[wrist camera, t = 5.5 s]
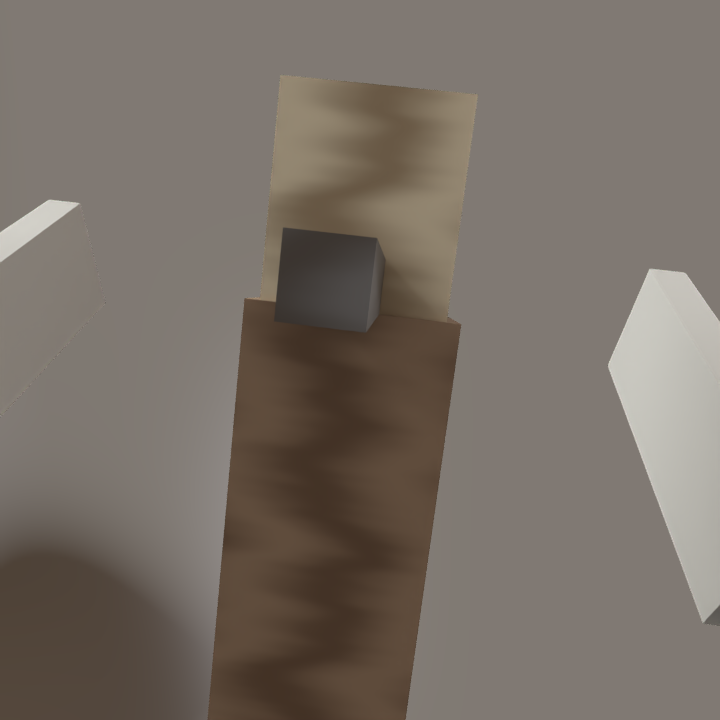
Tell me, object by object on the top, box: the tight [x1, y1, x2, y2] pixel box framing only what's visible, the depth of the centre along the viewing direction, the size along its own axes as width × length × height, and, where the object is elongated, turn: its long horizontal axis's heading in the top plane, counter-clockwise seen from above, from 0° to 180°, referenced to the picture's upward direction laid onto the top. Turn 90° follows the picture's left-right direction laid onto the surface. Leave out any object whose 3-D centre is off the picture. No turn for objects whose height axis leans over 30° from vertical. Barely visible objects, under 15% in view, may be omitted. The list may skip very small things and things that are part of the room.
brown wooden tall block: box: [208, 297, 461, 720], centre depth 25 cm, size 8×6×29 cm
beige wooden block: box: [260, 75, 478, 333], centre depth 18 cm, size 7×14×8 cm, turn 176°
